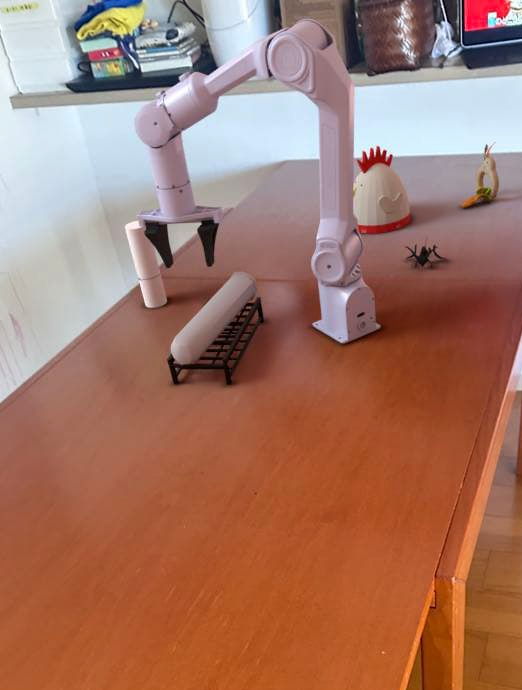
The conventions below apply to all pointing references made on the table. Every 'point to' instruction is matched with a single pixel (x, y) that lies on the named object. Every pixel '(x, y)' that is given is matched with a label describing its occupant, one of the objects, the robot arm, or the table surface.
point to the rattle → (482, 192)
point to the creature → (424, 255)
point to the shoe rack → (233, 344)
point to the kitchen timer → (379, 195)
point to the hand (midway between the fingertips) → (190, 265)
